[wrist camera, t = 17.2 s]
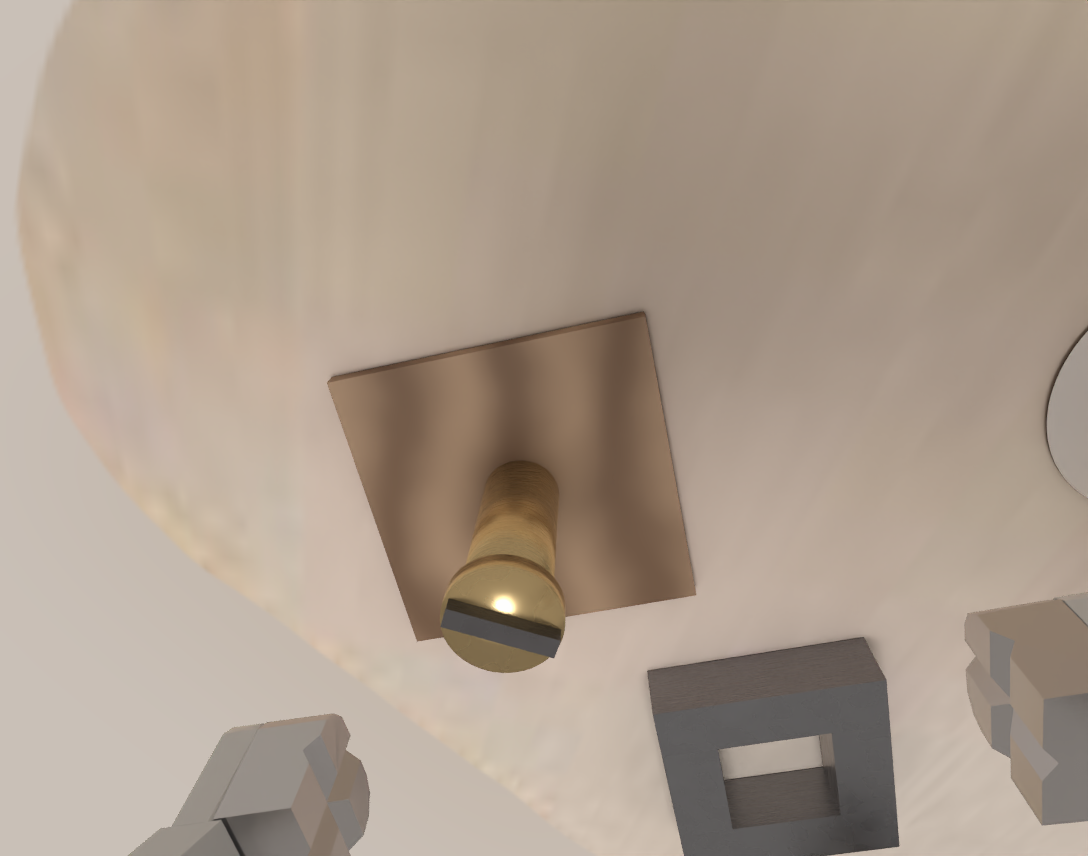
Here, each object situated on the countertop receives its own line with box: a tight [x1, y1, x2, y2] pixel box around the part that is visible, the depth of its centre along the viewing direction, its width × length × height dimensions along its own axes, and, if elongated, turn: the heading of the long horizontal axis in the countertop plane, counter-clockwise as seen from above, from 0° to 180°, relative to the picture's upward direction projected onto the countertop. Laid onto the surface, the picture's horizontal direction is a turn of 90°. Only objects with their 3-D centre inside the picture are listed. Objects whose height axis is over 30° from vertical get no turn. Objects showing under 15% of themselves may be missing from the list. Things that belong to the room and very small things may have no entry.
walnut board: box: [327, 312, 696, 641], centre depth 47 cm, size 18×18×1 cm
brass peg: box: [440, 460, 566, 673], centre depth 40 cm, size 6×6×13 cm
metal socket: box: [648, 638, 899, 856], centre depth 52 cm, size 14×14×4 cm
